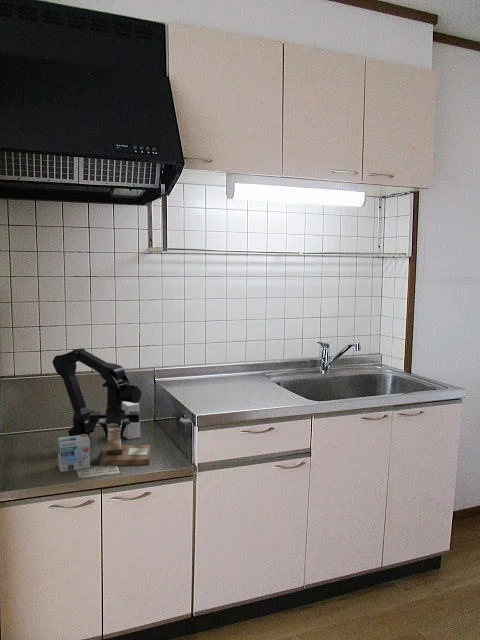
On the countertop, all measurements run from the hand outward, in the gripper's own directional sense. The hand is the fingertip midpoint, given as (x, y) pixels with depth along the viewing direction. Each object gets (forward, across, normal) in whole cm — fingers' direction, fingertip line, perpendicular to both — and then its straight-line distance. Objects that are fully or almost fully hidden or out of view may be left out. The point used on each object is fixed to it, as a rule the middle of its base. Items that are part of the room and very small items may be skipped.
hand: (114, 438), depth 199 cm
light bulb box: (+8, -14, -8) cm, 18 cm away
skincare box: (+8, +4, +24) cm, 26 cm away
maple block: (+4, 0, 0) cm, 4 cm away
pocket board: (+7, +4, 0) cm, 9 cm away
